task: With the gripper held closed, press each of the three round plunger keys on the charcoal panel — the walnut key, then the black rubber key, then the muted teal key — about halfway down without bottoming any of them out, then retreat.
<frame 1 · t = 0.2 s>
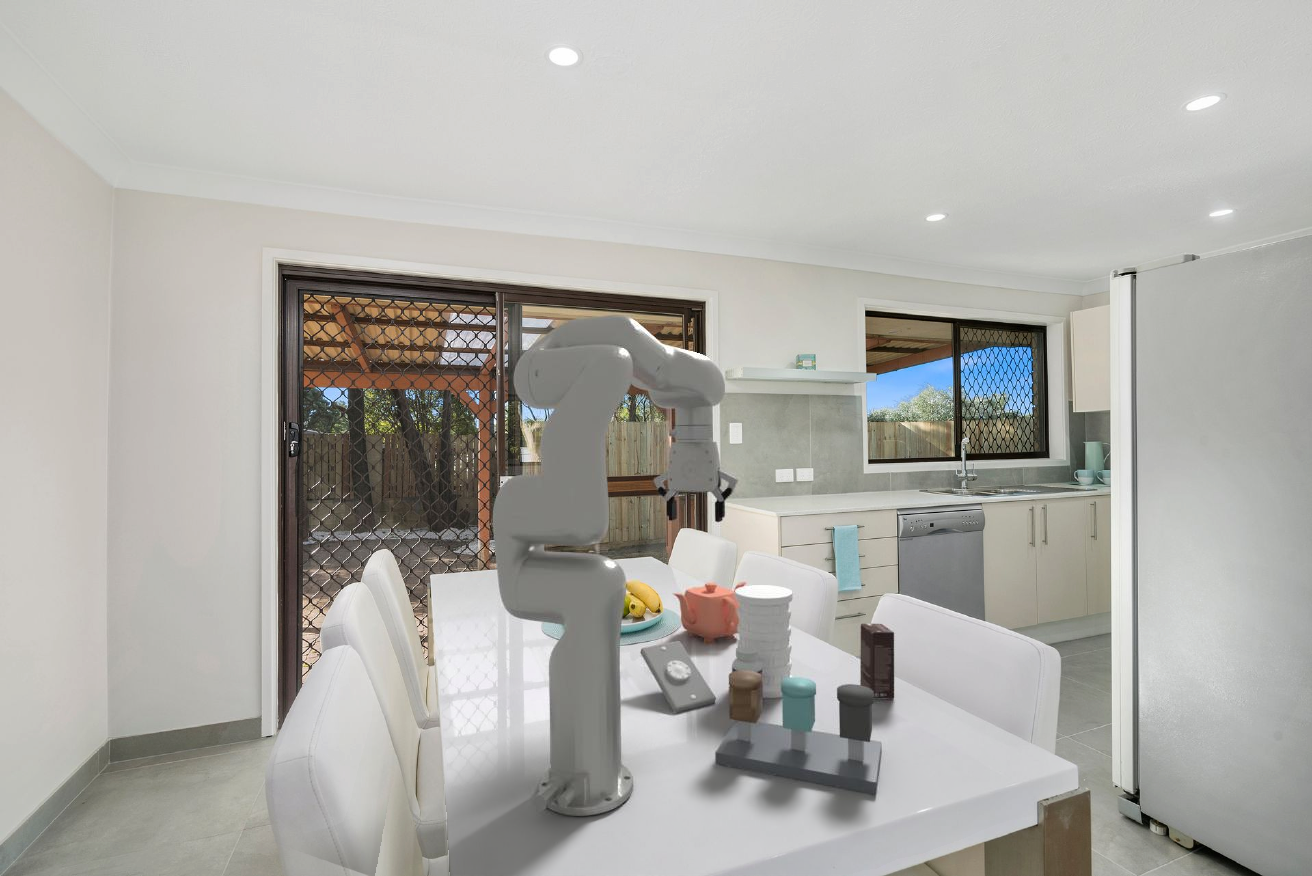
hand: (695, 520, 125), 31 cm above the table, fingers open, 9 cm apart
teapot: (711, 636, 150), on the table
light switch: (677, 696, 115), on the table
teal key: (798, 703, 92), point 8 cm above the table, slide at 0.0 cm
box: (877, 694, 115), on the table
decorative container: (765, 687, 119), on the table
walnut key: (745, 695, 95), point 8 cm above the table, slide at 0.0 cm
black key: (855, 712, 89), point 8 cm above the table, slide at 0.0 cm
panel: (799, 757, 92), on the table
pill bottle: (747, 704, 111), on the table
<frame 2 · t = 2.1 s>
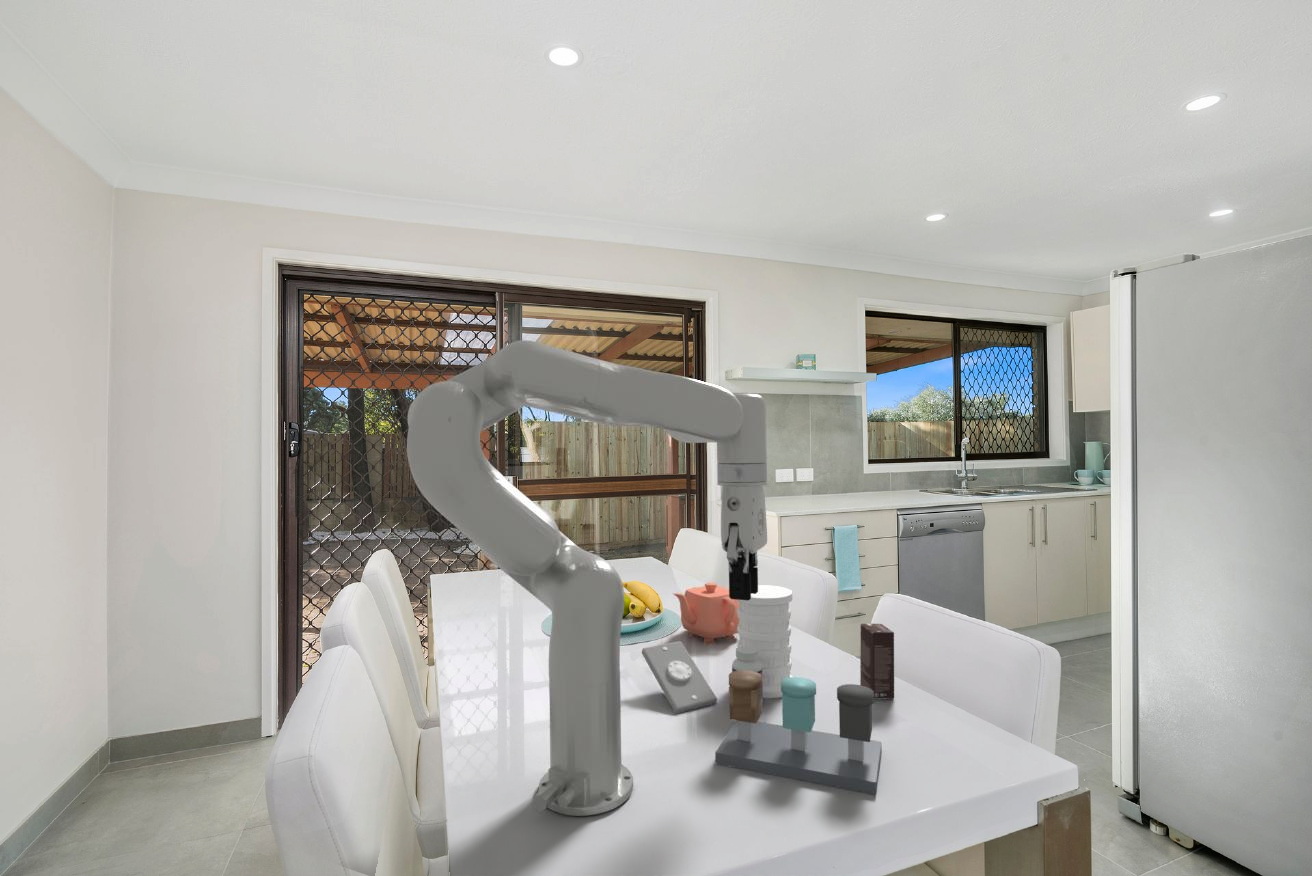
hand: (743, 594, 95), 23 cm above the table, fingers open, 3 cm apart
nothing on the table moved.
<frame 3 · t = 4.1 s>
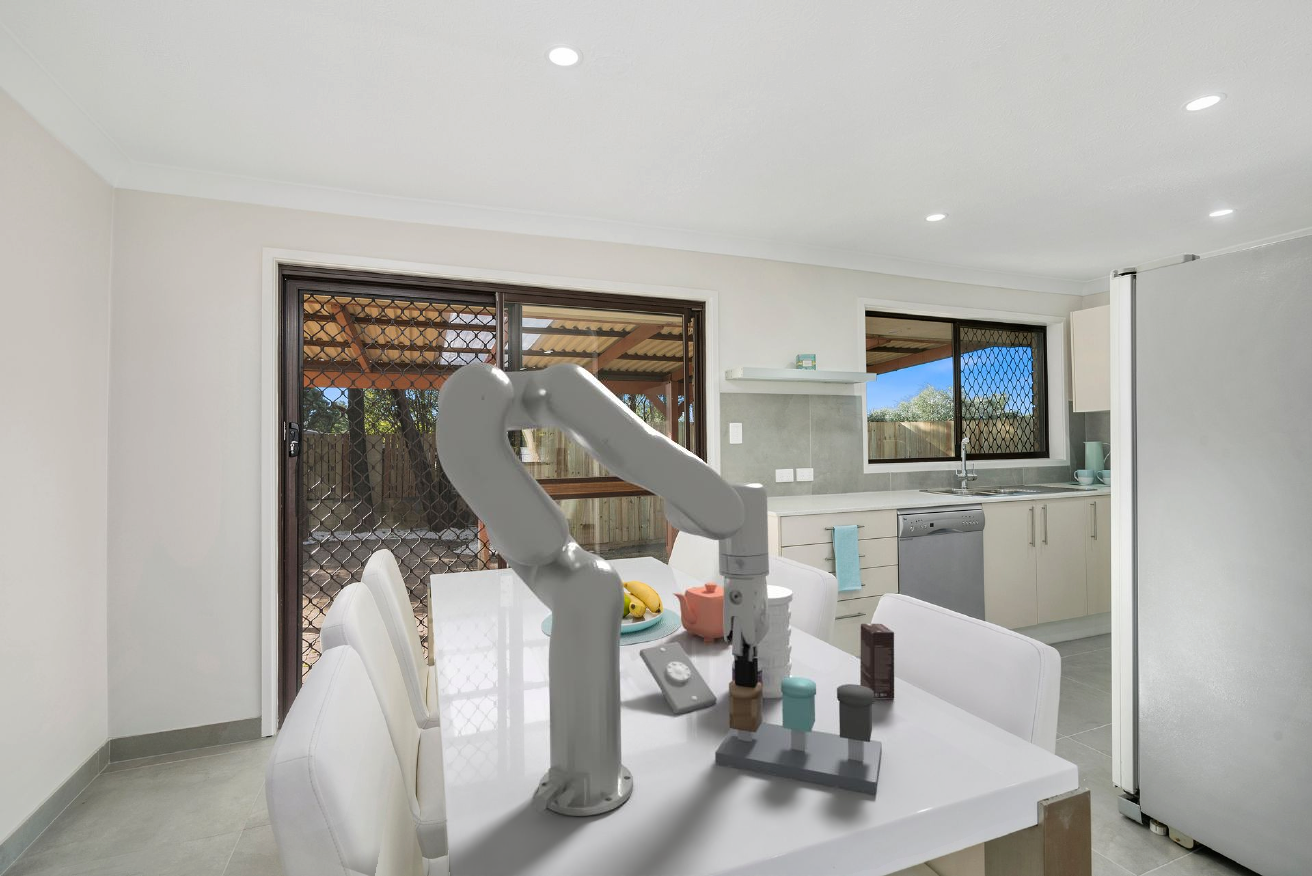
hand: (746, 684, 95), 10 cm above the table, fingers closed
walnut key: (745, 704, 95), point 7 cm above the table, slide at 1.4 cm, touching gripper
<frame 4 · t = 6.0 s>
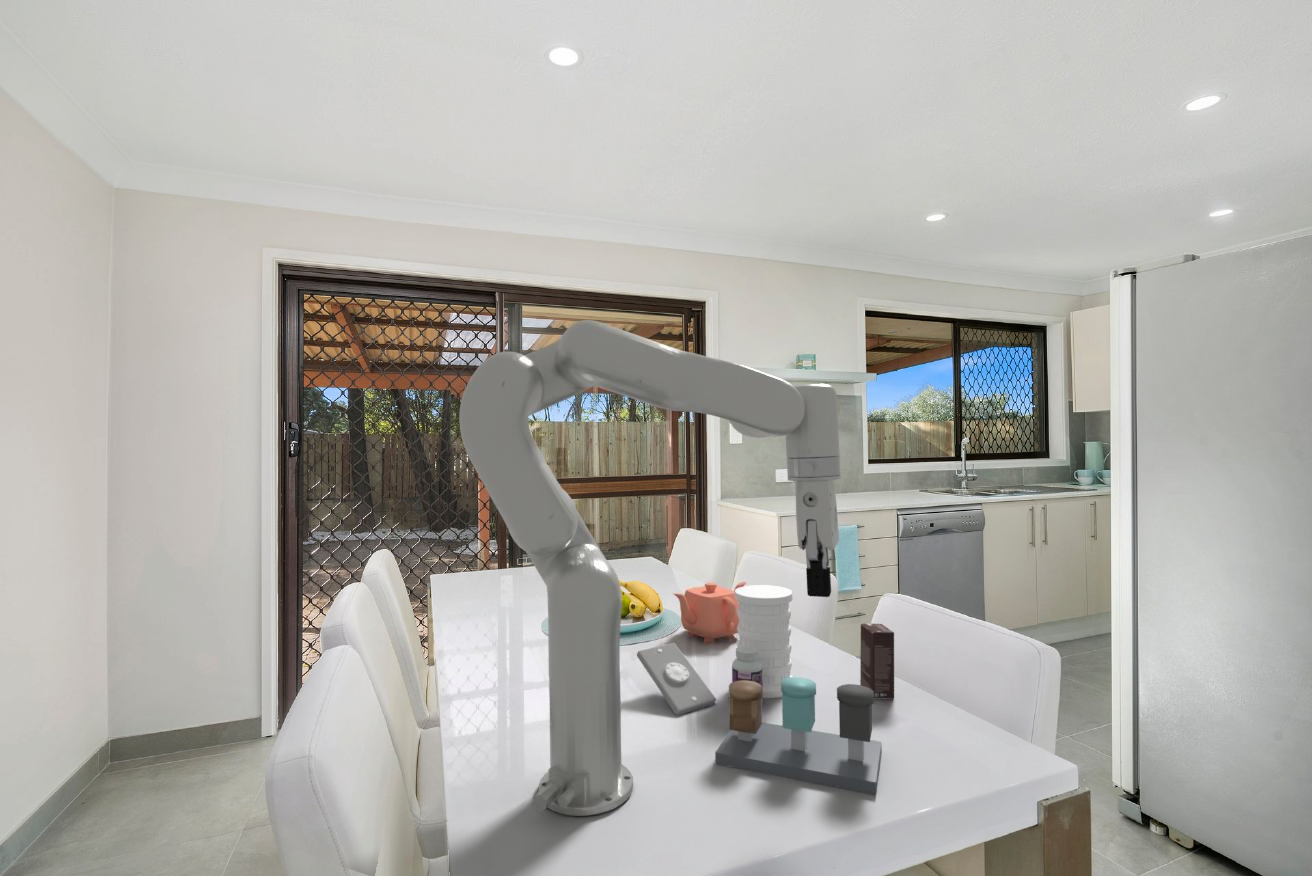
hand: (819, 594, 91), 24 cm above the table, fingers closed
walnut key: (745, 706, 95), point 6 cm above the table, slide at 1.6 cm
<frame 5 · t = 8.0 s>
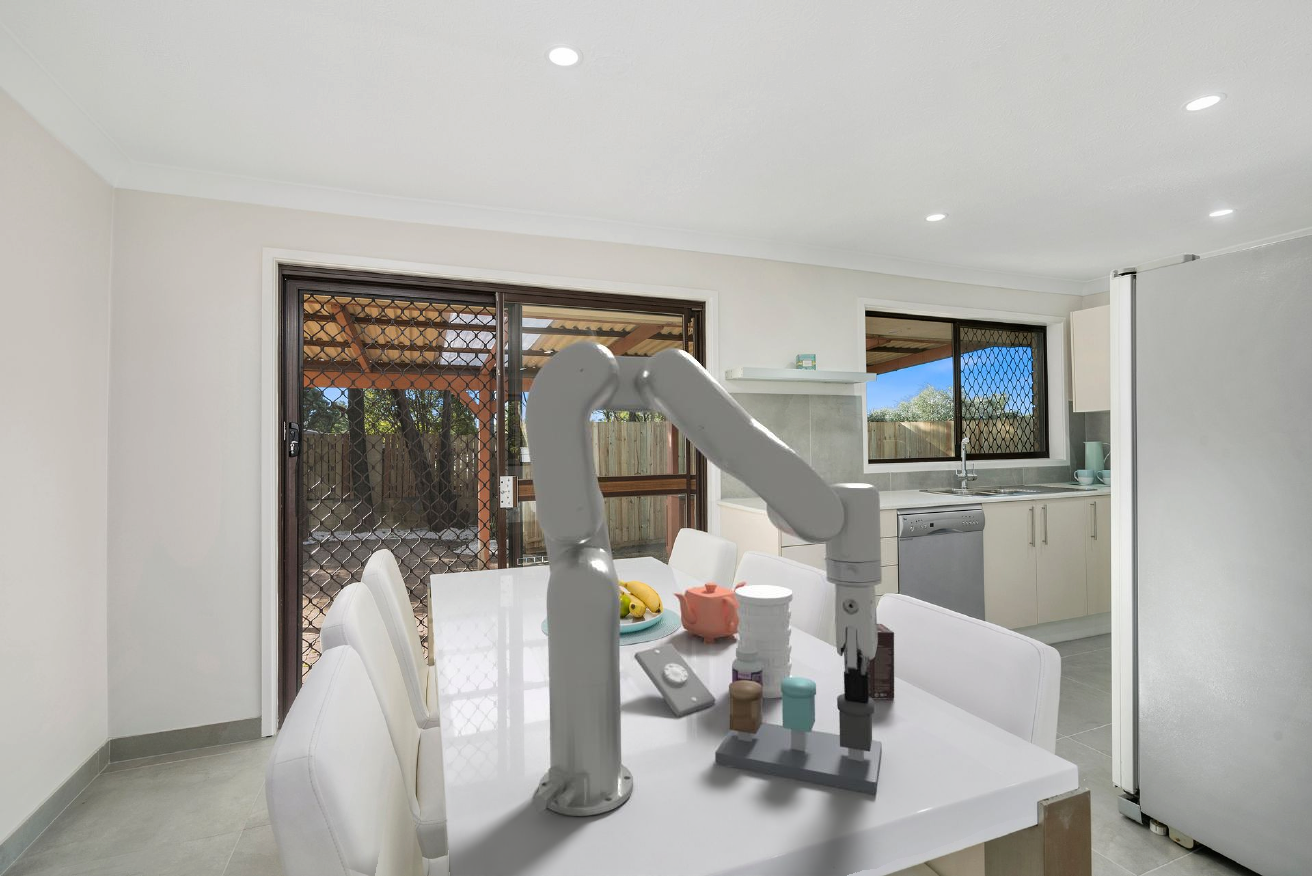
hand: (856, 699, 89), 10 cm above the table, fingers closed
black key: (855, 721, 89), point 7 cm above the table, slide at 1.3 cm, touching gripper
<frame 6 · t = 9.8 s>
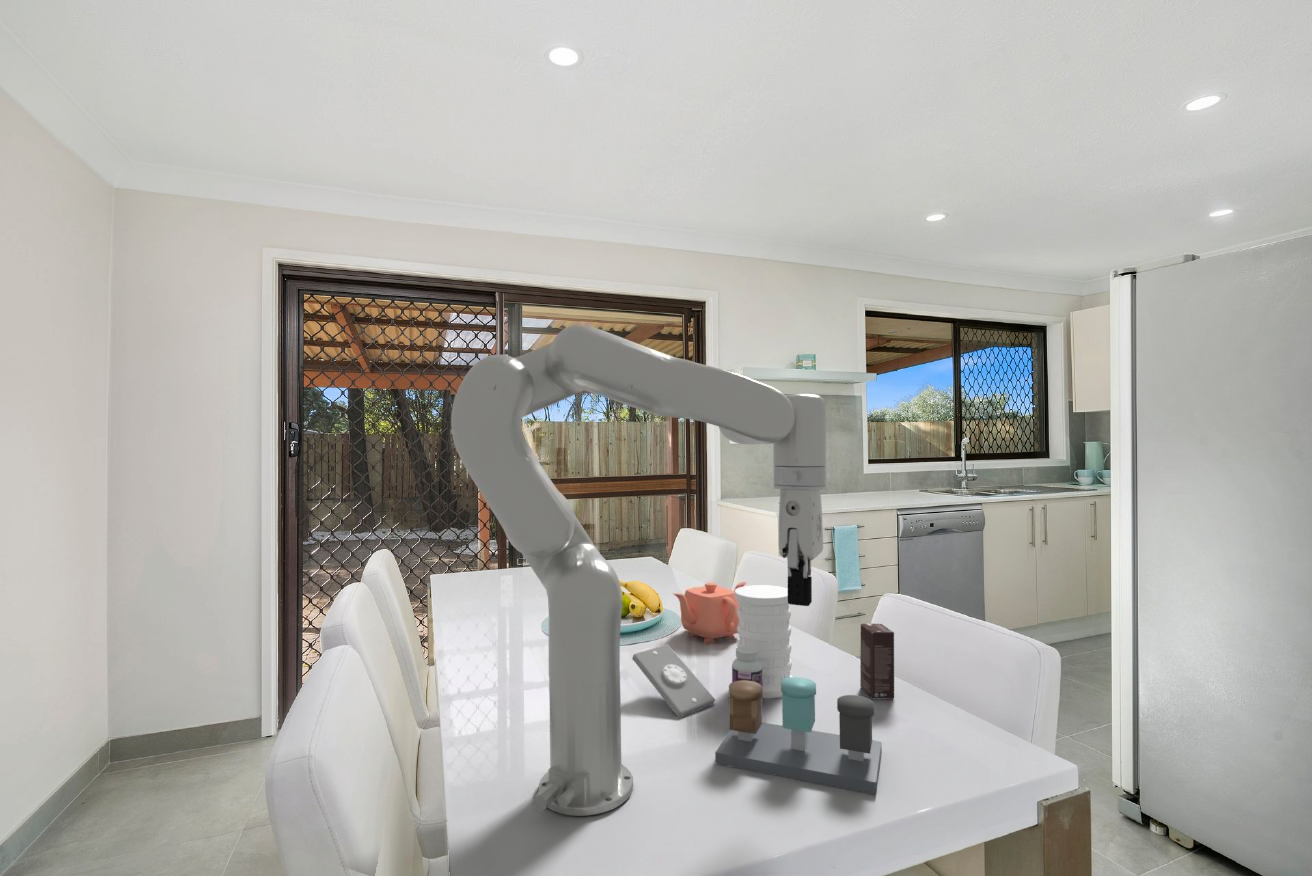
hand: (799, 603, 92), 23 cm above the table, fingers closed
black key: (855, 723, 89), point 6 cm above the table, slide at 1.6 cm
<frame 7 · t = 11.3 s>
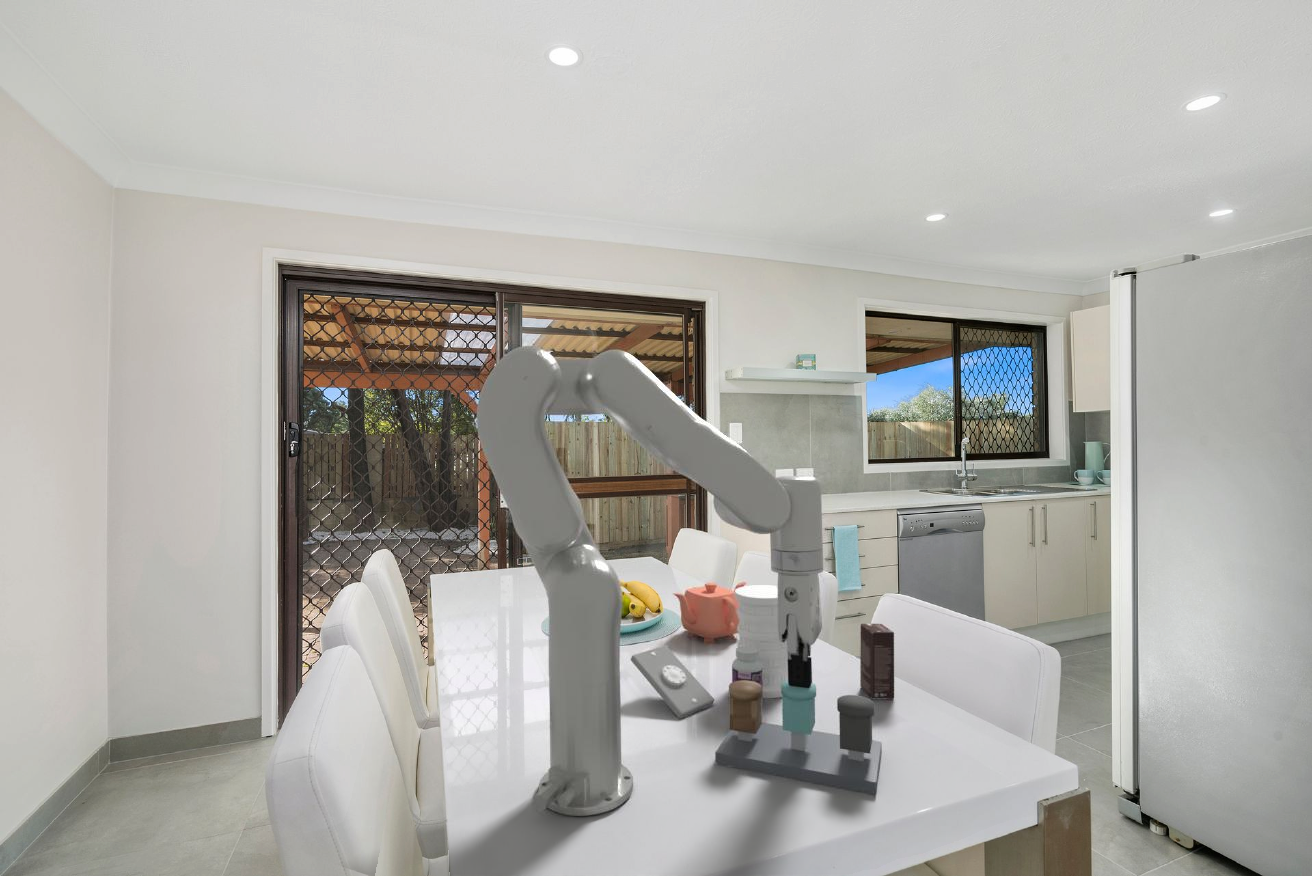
hand: (800, 684, 92), 11 cm above the table, fingers closed
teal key: (798, 705, 92), point 8 cm above the table, slide at 0.3 cm, touching gripper
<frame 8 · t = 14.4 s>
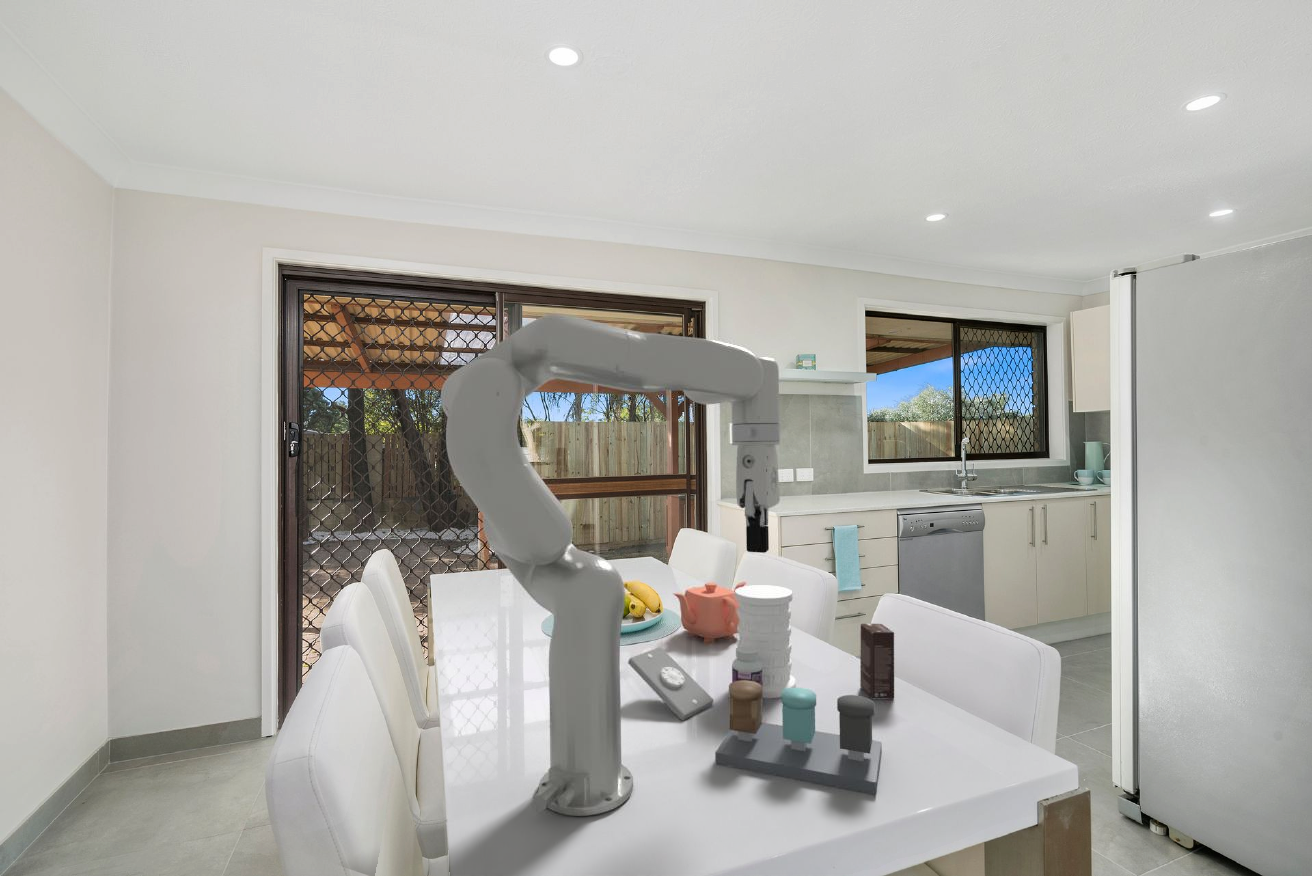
hand: (757, 551, 99), 29 cm above the table, fingers closed
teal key: (798, 714, 92), point 6 cm above the table, slide at 1.6 cm
at the end: walnut key slide at 1.6 cm; black key slide at 1.6 cm; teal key slide at 1.6 cm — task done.
